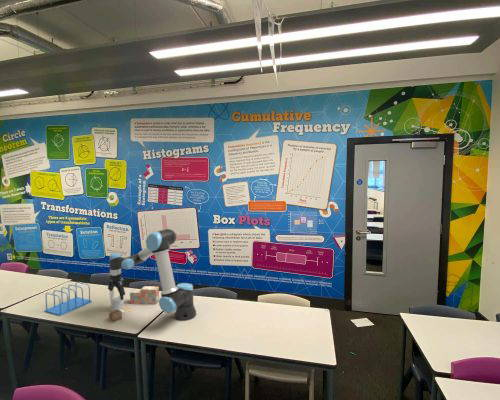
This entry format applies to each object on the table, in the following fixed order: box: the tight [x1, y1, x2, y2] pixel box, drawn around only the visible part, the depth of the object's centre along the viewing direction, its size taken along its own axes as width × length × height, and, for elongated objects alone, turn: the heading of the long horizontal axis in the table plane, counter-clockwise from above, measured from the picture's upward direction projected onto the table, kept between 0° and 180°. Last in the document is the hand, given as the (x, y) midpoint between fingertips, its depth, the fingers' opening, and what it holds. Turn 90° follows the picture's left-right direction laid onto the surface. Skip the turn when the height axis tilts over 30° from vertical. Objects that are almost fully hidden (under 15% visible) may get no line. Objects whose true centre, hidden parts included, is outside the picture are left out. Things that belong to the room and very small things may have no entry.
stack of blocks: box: [129, 285, 160, 305], centre depth 215 cm, size 21×6×12 cm, turn 86°
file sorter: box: [44, 281, 92, 317], centre depth 208 cm, size 25×17×15 cm
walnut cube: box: [108, 309, 123, 323], centre depth 188 cm, size 6×6×6 cm
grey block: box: [110, 296, 124, 311], centre depth 204 cm, size 6×6×8 cm
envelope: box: [108, 303, 135, 313], centre depth 201 cm, size 16×16×1 cm
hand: (116, 301), depth 204 cm, fingers open, 13 cm apart
